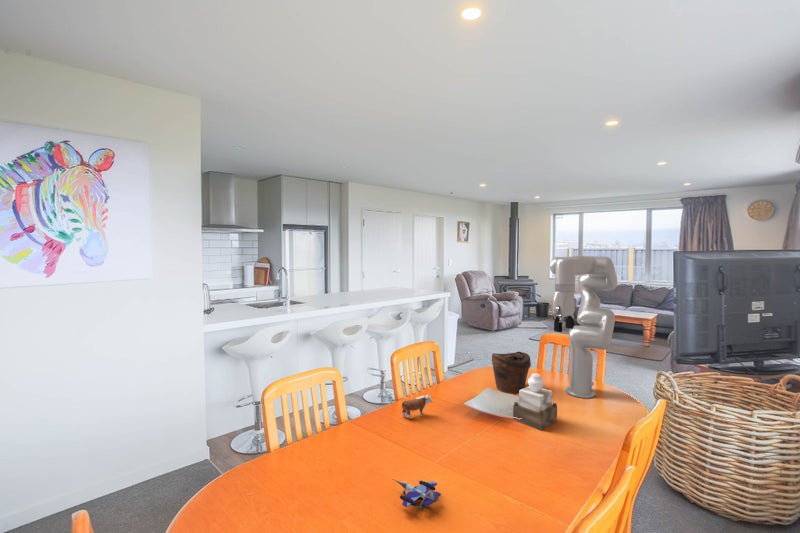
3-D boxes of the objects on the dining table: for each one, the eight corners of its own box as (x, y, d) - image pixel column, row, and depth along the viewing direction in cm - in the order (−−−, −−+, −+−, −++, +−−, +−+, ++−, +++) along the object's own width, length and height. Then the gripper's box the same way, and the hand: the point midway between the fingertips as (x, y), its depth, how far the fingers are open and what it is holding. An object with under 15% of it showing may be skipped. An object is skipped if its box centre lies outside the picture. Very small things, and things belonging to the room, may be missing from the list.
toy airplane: (389, 486, 115) (389, 474, 115) (437, 485, 116) (437, 473, 115) (389, 517, 102) (389, 504, 102) (443, 516, 103) (443, 503, 102)
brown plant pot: (535, 385, 196) (535, 349, 195) (524, 399, 179) (524, 359, 178) (499, 379, 206) (499, 345, 205) (486, 392, 189) (485, 354, 188)
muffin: (529, 386, 161) (529, 369, 161) (545, 389, 158) (545, 372, 158) (525, 391, 156) (526, 374, 156) (542, 394, 153) (542, 376, 152)
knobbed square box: (529, 411, 166) (529, 383, 165) (556, 421, 157) (557, 391, 156) (513, 419, 158) (513, 390, 158) (541, 430, 149) (541, 399, 149)
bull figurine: (434, 415, 162) (434, 395, 162) (403, 420, 158) (403, 400, 157) (429, 411, 167) (429, 392, 166) (399, 416, 162) (399, 396, 161)
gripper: (565, 286, 171) (565, 325, 173) (545, 289, 160) (544, 331, 161) (583, 287, 166) (582, 328, 167) (563, 291, 154) (562, 334, 155)
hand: (563, 330), depth 164 cm, fingers open, 9 cm apart
